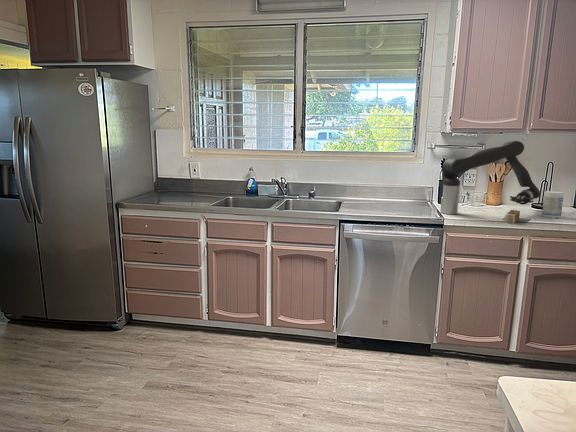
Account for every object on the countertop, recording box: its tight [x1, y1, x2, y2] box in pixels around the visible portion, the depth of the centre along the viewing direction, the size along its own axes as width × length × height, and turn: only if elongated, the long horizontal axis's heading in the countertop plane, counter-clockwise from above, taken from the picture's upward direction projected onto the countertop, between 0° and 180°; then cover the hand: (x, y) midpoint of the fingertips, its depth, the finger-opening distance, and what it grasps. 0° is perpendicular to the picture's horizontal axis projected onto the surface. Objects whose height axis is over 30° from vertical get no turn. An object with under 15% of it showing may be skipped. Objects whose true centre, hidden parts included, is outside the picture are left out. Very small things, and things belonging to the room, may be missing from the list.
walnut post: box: [504, 209, 521, 225], centre depth 232 cm, size 4×4×13 cm
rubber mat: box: [501, 217, 531, 223], centre depth 236 cm, size 12×11×1 cm
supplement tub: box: [541, 190, 565, 219], centre depth 242 cm, size 10×10×15 cm
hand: (517, 201), depth 237 cm, fingers closed
